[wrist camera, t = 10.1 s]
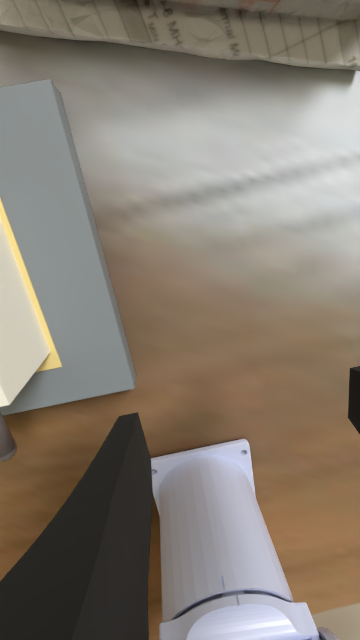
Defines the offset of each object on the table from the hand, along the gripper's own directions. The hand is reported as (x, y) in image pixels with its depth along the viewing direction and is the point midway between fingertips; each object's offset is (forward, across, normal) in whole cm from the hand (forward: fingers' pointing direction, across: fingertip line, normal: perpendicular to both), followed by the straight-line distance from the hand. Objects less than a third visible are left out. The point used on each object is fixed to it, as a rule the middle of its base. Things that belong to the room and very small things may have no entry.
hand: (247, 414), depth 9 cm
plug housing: (+8, +11, -3) cm, 14 cm away
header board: (+9, +11, -5) cm, 15 cm away
